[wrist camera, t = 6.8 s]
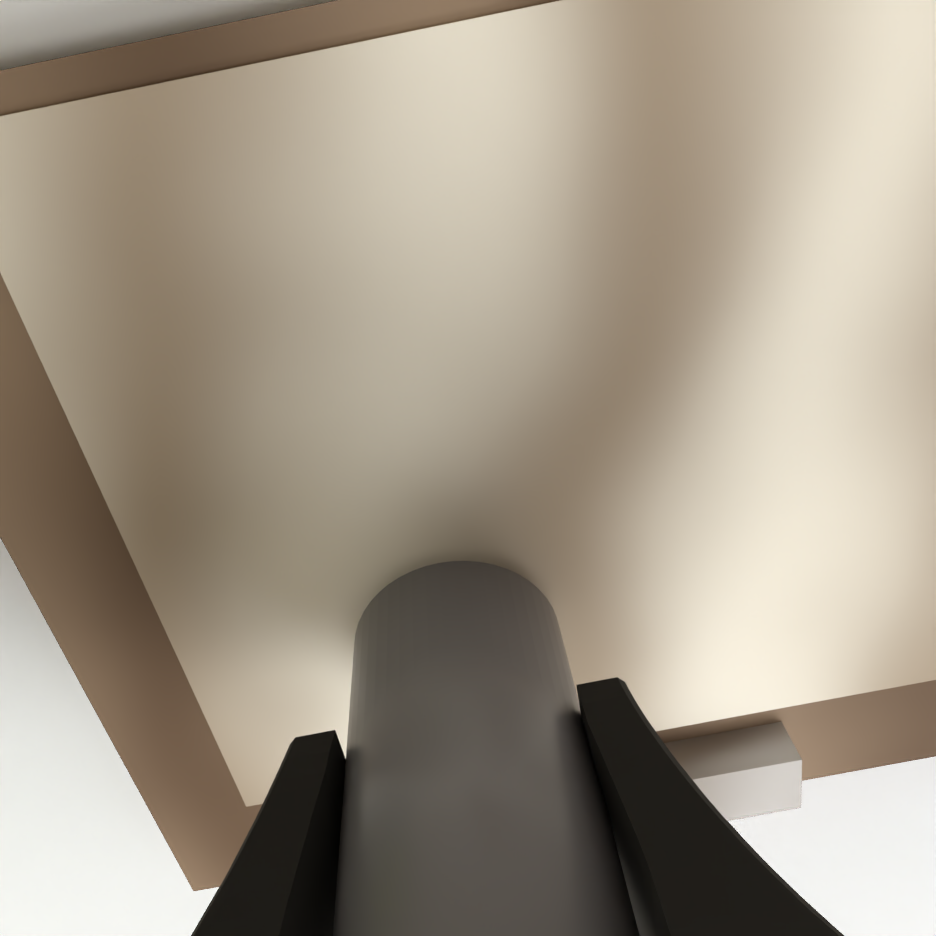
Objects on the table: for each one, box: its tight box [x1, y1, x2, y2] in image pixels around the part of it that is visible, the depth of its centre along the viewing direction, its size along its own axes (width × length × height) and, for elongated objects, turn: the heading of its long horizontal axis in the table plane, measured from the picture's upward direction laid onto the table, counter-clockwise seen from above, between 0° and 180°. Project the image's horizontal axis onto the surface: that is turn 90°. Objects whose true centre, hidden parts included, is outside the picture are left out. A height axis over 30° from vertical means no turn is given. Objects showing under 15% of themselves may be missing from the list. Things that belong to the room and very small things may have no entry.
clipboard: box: [0, 0, 936, 891], centre depth 14 cm, size 20×16×2 cm
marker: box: [333, 561, 640, 936], centre depth 11 cm, size 4×4×9 cm
